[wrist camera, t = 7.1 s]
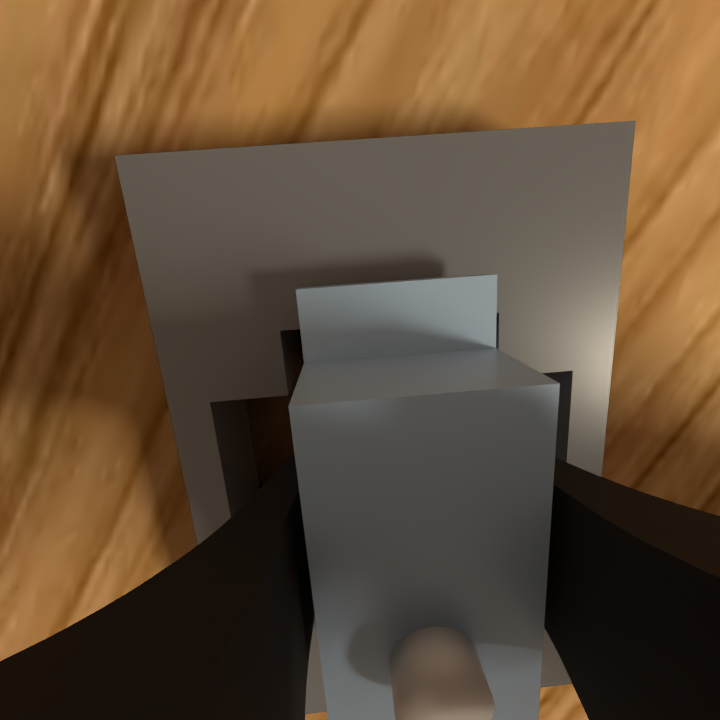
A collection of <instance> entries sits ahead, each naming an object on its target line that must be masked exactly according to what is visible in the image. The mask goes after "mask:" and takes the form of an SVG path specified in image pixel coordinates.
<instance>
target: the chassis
mask: <svg viewBox="0 0 720 720" xmlns="http://www.w3.org/2000/svg"><path fill="white" fill-rule="evenodd" d="M634 131H635V121H624V122H609V123H594V124H579V125H564V126H549V127H535V128H520V129H505V130H490V131H475V132H460V133H445V134H430V135H415V136H400V137H385V138H370V139H355V140H340V141H325V142H310V143H295V144H280V145H265V146H250V147H235V148H220V149H205V150H190V151H176V152H161V153H146V154H131V155H116V156H115V160H116V165H117V170H118V174H119V179H120V184H121V188H122V193H123V198H124V202H125V207H126V212H127V216H128V221H129V226H130V230H131V235H132V240H133V244H134V249H135V254H136V258H137V263H138V268H139V272H140V277H141V282H142V286H143V291H144V296H145V301H146V305H147V310H148V315H149V319H150V324H151V329H152V333H153V338H154V343H155V347H156V352H157V357H158V361H159V366H160V371H161V375H162V380H163V385H164V389H165V394H166V399H167V403H168V408H169V413H170V417H171V422H172V427H173V431H174V436H175V441H176V445H177V450H178V455H179V459H180V464H181V469H182V473H183V478H184V483H185V487H186V492H187V497H188V501H189V506H190V511H191V515H192V520H193V525H194V529H195V534H196V539H197V543H198V545H199V544H200V543H201V542H202V541H204V540H205V539H206V538H208V537H209V536H210V535H211V534H213V533H214V532H215V531H216V530H217V529H219V528H220V527H221V526H222V525H223V524H224V523H226V522H227V521H228V520H229V519H230V518H231V517H232V516H233V515H234V514H235V513H236V512H237V511H238V510H239V509H240V508H241V507H243V506H244V505H245V504H246V503H247V502H248V501H249V500H250V499H251V498H252V497H253V496H254V495H255V494H256V493H257V492H258V491H259V490H260V486H259V480H258V473H257V467H256V461H255V455H254V448H253V442H252V436H251V429H250V423H249V417H248V410H247V404H246V399H252V398H263V397H275V396H286V395H289V392H290V390H291V387H292V384H293V382H294V379H295V377H296V374H297V372H298V369H299V366H300V364H301V363H300V355H299V346H298V338H297V329H300V323H299V315H298V306H297V297H296V289H297V288H304V287H317V286H330V285H344V284H357V283H370V282H384V281H397V280H410V279H423V278H437V277H450V276H463V275H477V274H497V318H496V348H497V349H499V350H501V351H502V352H504V353H506V354H508V355H510V356H511V357H513V358H515V359H517V360H519V361H520V362H522V363H524V364H526V365H528V366H529V367H531V368H533V369H535V370H537V371H538V372H540V373H542V374H544V375H546V376H547V377H549V378H551V379H553V380H555V381H556V382H558V383H560V390H559V405H558V421H557V436H556V452H555V457H556V458H558V459H560V460H563V461H565V462H567V463H569V464H572V465H574V466H576V467H579V468H581V469H583V470H586V471H588V472H590V473H593V474H595V475H598V476H600V477H602V467H603V457H604V446H605V436H606V425H607V415H608V404H609V394H610V383H611V373H612V362H613V352H614V341H615V331H616V320H617V310H618V299H619V289H620V278H621V268H622V257H623V247H624V236H625V226H626V215H627V205H628V194H629V184H630V173H631V163H632V152H633V142H634ZM566 684H572V682H571V680H570V677H569V675H568V673H567V671H566V669H565V667H564V665H563V663H562V660H561V658H560V656H559V654H558V652H557V650H556V648H555V647H554V645H553V643H552V641H551V639H550V637H549V635H548V633H547V631H546V630H545V628H544V637H543V652H542V668H541V683H540V687H549V686H557V685H566ZM319 712H327V707H326V699H325V691H324V683H323V675H322V667H321V660H320V652H319V644H318V636H317V628H316V620H315V616H314V624H313V631H312V639H311V646H310V653H309V662H308V673H307V684H306V704H305V714H310V713H319Z"/></svg>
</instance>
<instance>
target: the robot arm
mask: <svg viewBox="0 0 720 720" xmlns="http://www.w3.org/2000/svg"><path fill="white" fill-rule="evenodd" d="M314 616H315V612H314V604H313V596H312V588H311V581H310V573H309V565H308V557H307V549H306V541H305V533H304V525H303V517H302V510H301V502H300V494H299V486H298V478H297V470H296V462H295V455H292V456H290V457H289V458H288V459H287V460H286V461H285V463H284V464H283V465H282V466H281V467H280V468H279V469H278V470H277V471H276V472H275V474H274V475H273V476H272V477H271V478H270V479H269V480H268V481H267V482H266V483H265V485H264V486H263V487H262V488H261V489H260V490H259V491H258V492H257V493H256V494H255V495H254V496H253V497H252V498H251V499H250V500H249V501H248V502H247V503H246V504H245V505H244V506H243V507H241V508H240V509H239V510H238V511H237V512H236V513H235V514H234V515H233V516H232V517H231V518H230V519H229V520H228V521H227V522H226V523H224V524H223V525H222V526H221V527H220V528H219V529H217V530H216V531H215V532H214V533H213V534H211V535H210V536H209V537H208V538H206V539H205V540H204V541H202V542H201V543H200V544H199V545H197V546H196V547H195V548H193V549H192V550H191V551H190V552H188V553H187V554H185V555H184V556H183V557H181V558H180V559H178V560H177V561H175V562H174V563H172V564H171V565H170V566H168V567H167V568H165V569H164V570H162V571H161V572H159V573H158V574H156V575H155V576H153V577H152V578H150V579H149V580H147V581H146V582H144V583H143V584H141V585H140V586H138V587H137V588H135V589H133V590H132V591H130V592H129V593H127V594H125V595H124V596H122V597H120V598H119V599H117V600H115V601H113V602H112V603H110V604H108V605H107V606H105V607H103V608H102V609H100V610H98V611H96V612H95V613H93V614H91V615H89V616H87V617H86V618H84V619H82V620H80V621H78V622H77V623H75V624H73V625H71V626H69V627H68V628H66V629H64V630H62V631H60V632H58V633H56V634H54V635H53V636H51V637H49V638H47V639H45V640H43V641H41V642H39V643H37V644H35V645H33V646H31V647H29V648H27V649H25V650H23V651H21V652H19V653H16V654H14V655H12V656H10V657H8V658H6V659H4V660H2V661H0V720H305V704H306V684H307V673H308V662H309V653H310V646H311V639H312V631H313V624H314ZM544 628H545V630H546V631H547V633H548V635H549V637H550V639H551V641H552V643H553V645H554V647H555V648H556V650H557V652H558V654H559V656H560V658H561V660H562V663H563V665H564V667H565V669H566V671H567V673H568V675H569V677H570V680H571V682H572V684H573V686H574V688H575V690H576V692H577V695H578V697H579V699H580V701H581V703H582V705H583V707H584V710H585V712H586V714H587V716H588V719H589V720H720V516H717V515H714V514H710V513H706V512H703V511H699V510H696V509H693V508H689V507H686V506H683V505H679V504H676V503H673V502H670V501H667V500H664V499H661V498H658V497H655V496H652V495H648V494H645V493H643V492H640V491H637V490H634V489H631V488H629V487H626V486H623V485H621V484H618V483H616V482H613V481H610V480H608V479H605V478H603V477H600V476H598V475H595V474H593V473H590V472H588V471H586V470H583V469H581V468H579V467H576V466H574V465H572V464H569V463H567V462H565V461H563V460H560V459H558V458H556V457H555V467H554V482H553V498H552V513H551V529H550V544H549V560H548V575H547V590H546V606H545V621H544Z"/></svg>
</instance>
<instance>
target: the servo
mask: <svg viewBox="0 0 720 720" xmlns="http://www.w3.org/2000/svg"><path fill="white" fill-rule="evenodd" d="M296 297H297V306H298V315H299V323H300V332H301V341H302V350H303V359H304V365H303V368H302V370H301V373H300V376H299V379H298V381H297V384H296V387H295V390H294V392H293V395H292V398H291V401H290V403H289V406H288V407H289V415H290V423H291V431H292V438H293V446H294V454H295V462H296V470H297V478H298V486H299V494H300V502H301V510H302V517H303V525H304V533H305V541H306V549H307V557H308V565H309V573H310V581H311V588H312V596H313V604H314V612H315V620H316V628H317V636H318V644H319V652H320V660H321V667H322V675H323V683H324V691H325V699H326V707H327V715H328V720H538V714H539V698H540V683H541V668H542V652H543V637H544V621H545V606H546V590H547V575H548V560H549V544H550V529H551V513H552V498H553V482H554V467H555V452H556V436H557V421H558V405H559V390H560V383H558V382H556V381H555V380H553V379H551V378H549V377H547V376H546V375H544V374H542V373H540V372H538V371H537V370H535V369H533V368H531V367H529V366H528V365H526V364H524V363H522V362H520V361H519V360H517V359H515V358H513V357H511V356H510V355H508V354H506V353H504V352H502V351H501V350H499V349H497V348H496V318H497V274H477V275H463V276H450V277H437V278H423V279H410V280H397V281H384V282H370V283H357V284H344V285H330V286H317V287H304V288H297V289H296Z"/></svg>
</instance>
